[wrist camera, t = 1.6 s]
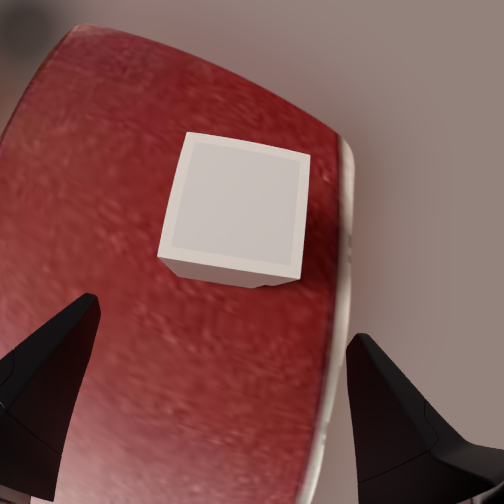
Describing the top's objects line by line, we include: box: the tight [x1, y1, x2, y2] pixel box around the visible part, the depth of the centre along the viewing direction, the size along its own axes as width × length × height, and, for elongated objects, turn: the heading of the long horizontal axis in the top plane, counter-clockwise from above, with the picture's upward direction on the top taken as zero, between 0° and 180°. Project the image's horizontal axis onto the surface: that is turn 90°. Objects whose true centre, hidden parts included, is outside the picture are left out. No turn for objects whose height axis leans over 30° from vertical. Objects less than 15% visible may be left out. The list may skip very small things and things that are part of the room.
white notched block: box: [157, 132, 310, 288], centre depth 17 cm, size 6×6×10 cm
